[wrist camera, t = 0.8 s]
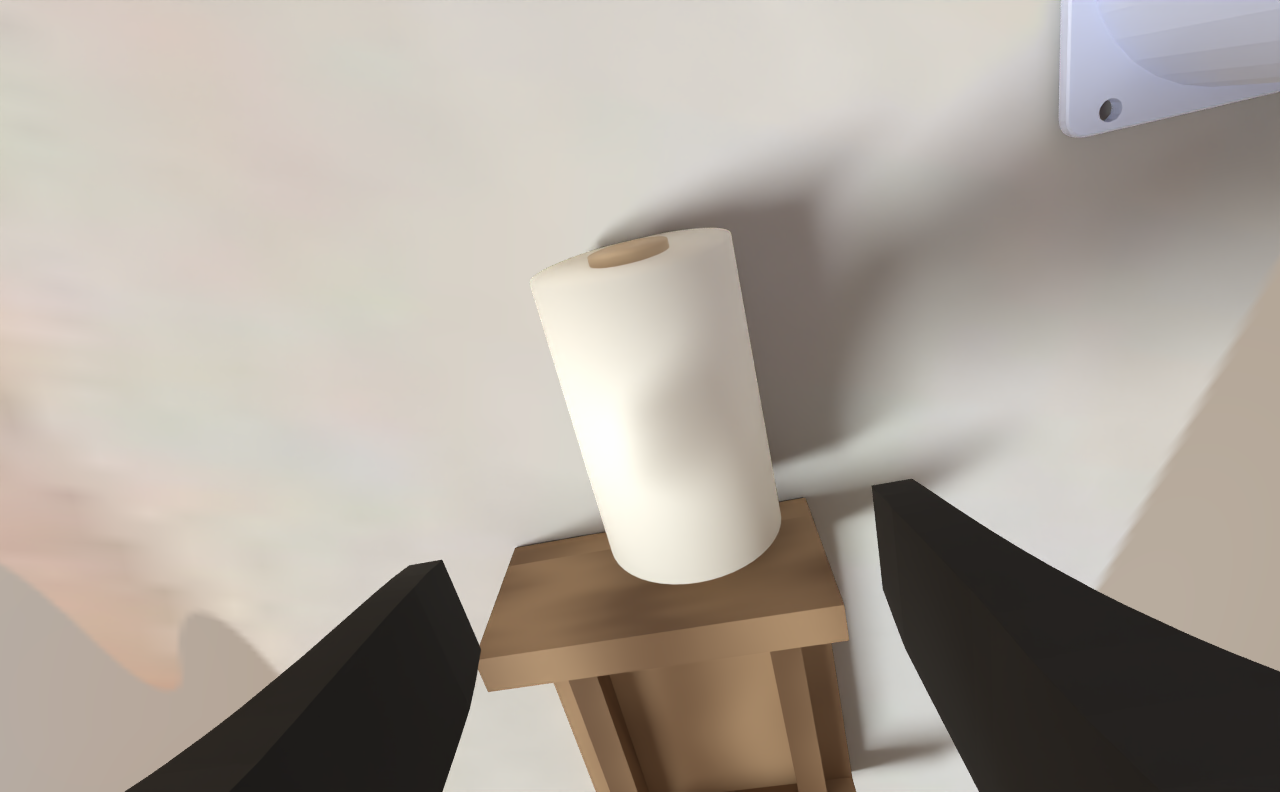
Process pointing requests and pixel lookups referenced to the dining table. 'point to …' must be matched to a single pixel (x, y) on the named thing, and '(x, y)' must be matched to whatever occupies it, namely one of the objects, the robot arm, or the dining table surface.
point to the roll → (664, 401)
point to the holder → (683, 664)
